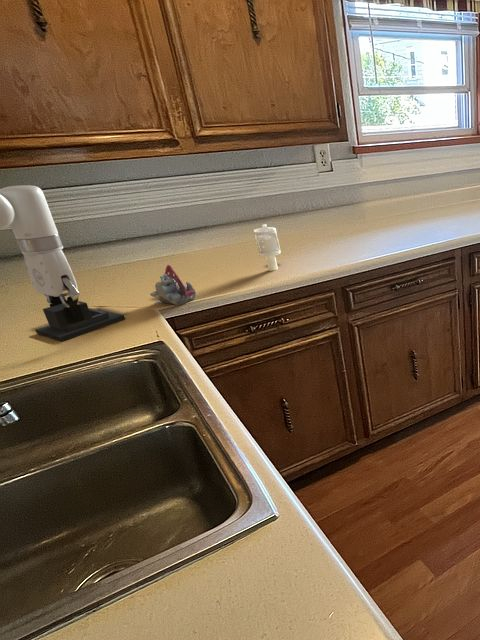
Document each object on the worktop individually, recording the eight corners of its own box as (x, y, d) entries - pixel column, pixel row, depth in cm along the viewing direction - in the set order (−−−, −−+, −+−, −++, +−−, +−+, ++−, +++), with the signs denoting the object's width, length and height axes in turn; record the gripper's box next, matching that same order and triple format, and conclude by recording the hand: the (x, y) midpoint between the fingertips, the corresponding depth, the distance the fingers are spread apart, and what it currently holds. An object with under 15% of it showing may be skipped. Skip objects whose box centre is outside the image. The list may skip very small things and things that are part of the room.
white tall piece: (284, 265, 184) (275, 223, 177) (283, 270, 178) (274, 227, 171) (263, 267, 182) (253, 225, 175) (262, 273, 176) (252, 229, 169)
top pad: (60, 328, 120) (54, 312, 118) (48, 324, 122) (42, 309, 120) (92, 318, 125) (86, 302, 124) (80, 315, 127) (74, 299, 126)
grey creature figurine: (209, 289, 155) (176, 264, 145) (187, 319, 152) (152, 296, 142) (188, 283, 161) (154, 259, 151) (166, 313, 157) (131, 290, 147)
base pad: (62, 341, 130) (57, 331, 128) (36, 333, 135) (32, 324, 133) (125, 319, 142) (122, 309, 141) (100, 312, 147) (96, 303, 146)
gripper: (1, 244, 116) (33, 319, 124) (42, 251, 109) (73, 331, 117) (39, 237, 122) (67, 309, 130) (80, 243, 115) (107, 320, 123)
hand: (69, 319), depth 123 cm, fingers closed on top pad, 5 cm apart
